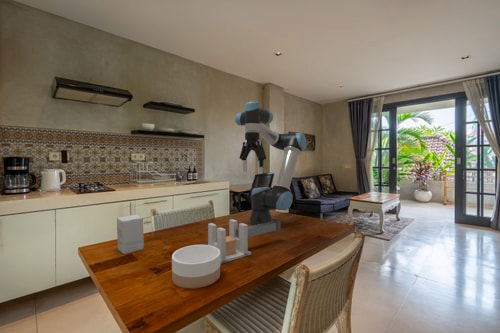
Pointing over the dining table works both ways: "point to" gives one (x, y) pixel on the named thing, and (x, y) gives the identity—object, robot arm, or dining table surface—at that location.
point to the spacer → (230, 245)
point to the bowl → (195, 266)
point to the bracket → (221, 236)
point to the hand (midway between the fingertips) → (252, 172)
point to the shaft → (262, 228)
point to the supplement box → (130, 233)
